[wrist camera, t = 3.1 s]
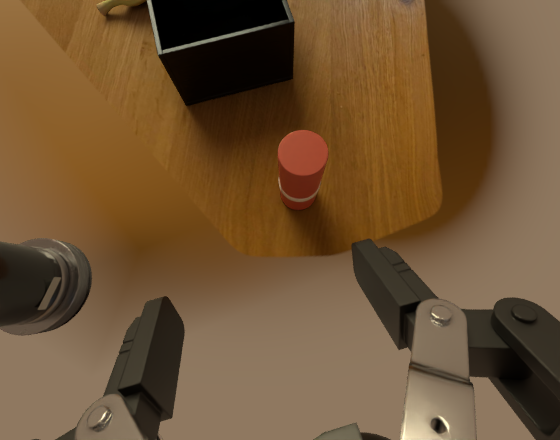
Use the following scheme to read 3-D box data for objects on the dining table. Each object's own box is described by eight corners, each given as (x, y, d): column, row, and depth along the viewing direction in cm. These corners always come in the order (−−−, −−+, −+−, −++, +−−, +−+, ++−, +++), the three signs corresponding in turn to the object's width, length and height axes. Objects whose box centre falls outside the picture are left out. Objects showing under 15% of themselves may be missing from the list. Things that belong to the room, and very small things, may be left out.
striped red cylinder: (285, 215, 38) (284, 182, 26) (275, 181, 39) (270, 136, 28) (321, 205, 38) (336, 168, 27) (310, 171, 39) (320, 123, 28)
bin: (186, 106, 43) (157, 55, 33) (169, 30, 46) (139, -35, 37) (293, 78, 43) (294, 21, 34) (268, 6, 47) (263, -64, 38)
